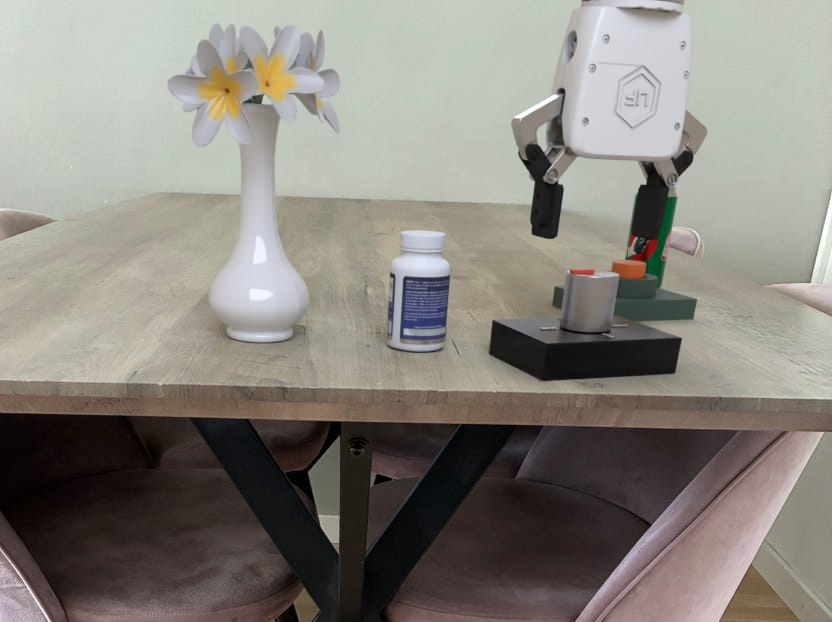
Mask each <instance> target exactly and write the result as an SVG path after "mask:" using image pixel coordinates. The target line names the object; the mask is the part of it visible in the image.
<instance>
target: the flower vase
mask: <svg viewBox="0 0 832 622" xmlns="http://www.w3.org/2000/svg"><path fill="white" fill-rule="evenodd" d="M273 33H274V41H273V43H272V45H271V47H270V50H269V49H268V45H267V43H266V41H265V40H264V38H263V36H261V35H260V33H259V32H258V31H257V30H255V29H254V28H252V27H251V26H249V25H247V24H246V25H245V24H243V25H241V26H240V27H239V29H238V36H237V28H236V24H234V23H229V24H228V25H227V27H226V28H225V30H223V28H222V26H221V24H219V23H218V22H215V23H213V24H212V25H211V27H210V29H209V33H208V39H207V38H203V39H202V38H201V40H200V41H199V42H198V44H197V46H196V53H194V55H193V56H192V58H191V59H190V66H189V67H188V68H186V71H185V72H184V73H179V74H174V75H173V76H171V77H169V78H168V80H167V89H168V91H169V93H170V94H171V95H172V96H174V97H175V98H176V99H177V100H179V101H180V102H183V106H182V110H183V112H184V113H190V112H193V111H196V114H195V116H194V119H193V122H192V128H191V137H192V142H193V143H194V145H195V146H197V147H198V148H204V147H206V146H209V144H211V143H212V141H213V140H214V139H215V137H216V136H217V135H218V133H219V132H220V128H221V127H222V125H223V123H224V125H225V127H226V130H227V131H228V133H229V134H230V136H231V137H232V138H233V139H234V140H235V141H236V142H237V143H238V147H239V156H240V208H239V209H240V213H239V227H238V234H237V237H236V241H235V245H234V248H233V249H232V252H231V256H230V258H229V259H228V261H227V262H226V263H225V265H224V266H223V267H222V268H221V269H220V270H219V272H218V273H217V274H216V276H215V277H214V279H213V281H212V283H211V286H210V288H209V291H208V305H209V307H210V308H211V310H212V312H213V313H214V315H215V316H216V317H217V319H219V320H220V321H221V322H222V323H223V324H225V325H226V326H227V328H226V334H227V336H228V337H229V338H231V339H233V340H237V341H239V342H245V343H247V342H248V343H261V344H263V343H277V342H283V341H286V340H289V339H291V338H292V337H293V335H294V329H293V328H292V327H293V326H295V325H296V324H298V323H299V322H301V320H302V319H303V318H304V317H305V315H306V314H307V313H308V310H309V308H310V302H311V298H310V296H311V295H310V292H309V289H308V286H307V283H306V282H305V280H304V278H303V277H302V275H301V274H300V273H299V272H298V271H297V270H296V269H295V267H294V266H293V265H292V263H291V262H290V260H289V259H288V257H287V254H286V252H285V249H284V247H283V243H282V240H281V236H280V232H279V226H278V225H279V224H278V216H277V198H276V197H277V193H276V150H277V140H278V133H279V127H280V123H281V120H283V121H284V122H287V123H294V121H295V120H297V119H296V118H297V114H298V113H297V112H298V108H297V102H296V100H295V97H296V99H297V100H298V101H299V102H300V103H301V104H302V105H303V106H304V108H305V109H306V110H307V111H308V113H309V114H311V115H312V116H316V115H317V117H318V120H319V121H320V123H321V124H324V122H325V121H326V122H327V123H328V125H329V126H330V127H331V128H332V129H333V131H334V132H335V133H336V134H339V133H340V131H341V130H340V124H339V119H338V116H337V113H336V111H335V108H334V107H333V105H332V104H331V103H330V102H329V101H328V100H327V99H325V98H331V97H334V96H335V95H337V93H338V91H339V90H340V86H341V81H340V76H339V74H338V71H336V70H335V69H333V68H325V69H321V68H322V66H323V64H324V60H325V54H326V53H325V51H326V44H325V35H324V32H323V30H322V29H320V30H319V31H318V33H317V36H316V39H315V41H314V37H313V35H312V34H311V33H310V32H308V31H305V32H302V34H300V31H299V29H298V28H297V26H295V25H293V24H288V25H286V26H284V27H283V28H281V27H280V26H278V25H276V26H275V27H274V29H273ZM320 69H321V70H320ZM265 95H266V97H267V98H268V99H269V101H270V102H271V103H263V99H264V97H265ZM293 95H294V96H293Z"/></svg>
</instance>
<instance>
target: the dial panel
mask: <svg viewBox="0 0 832 622" xmlns="http://www.w3.org/2000/svg"><path fill="white" fill-rule="evenodd" d="M560 318H561V316H558V317H532V318H531V317H530V318H502V319H492V321H491V330H490V340H489V349H488V354H489V355H491V356H493V357H495V358H497V359H499V360H501V361H503V362H505V363H507V364H508V365H511V366H513V367H515V368H517V369H520V370H521V371H523V372H525V373H528V374H529V375H531V376H533V377H535V378H537V379H539V380H540V381H545V382H546V381H559V380H576V379H577V380H579V379H580V380H581V379H594V378H595V379H596V378H613V377H614V376H615V377H627V376H626V375H633V376H643V375H642V374H651V375H663V374H662V373H669V374H676V372H677V365H678V361H679V356H680V351H681V345H682V341H683V337H682V336H681V337H680V336H678V335H675V334H672V333H670V332H667V331H664V330H660V329H657V328H655V327H652V326H648V325H646V324H643V323H640V322H638V321H635V322H634V321H631V320H628V319H626V318H623V317H620V316H613V319H612V326H611V330H610V331H608V332H602V333H585V332H576V331H571V330H566V329H564V328H561V327H560ZM660 373H661V374H660ZM624 375H625V376H624Z"/></svg>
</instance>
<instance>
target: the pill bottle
mask: <svg viewBox="0 0 832 622" xmlns="http://www.w3.org/2000/svg"><path fill="white" fill-rule="evenodd" d="M445 247H446V233H445V232H443V231H435V230H421V229H420V230H418V229H417V230H416V229H415V230H412V229H411V230H402V231H400V233H399V248H398V249H399V250H401V254H400V256H398V257H396V258H394V259H393V260H392V262H391V263H390V269H389V281H388V282H389V285H388V301H387V302H388V306H387V307H388V308H387V326H386V343H387V345H388V346H389V347H390V348H393V349H396V350H400V351H405V352H413V353H414V352H415V353H428V352H434V351H439V350H441V349H443V348H444V347H445V344H446V336H447V323H448V322H447V321H448V310H449V309H448V308H449V295H450V285H451V284H450V283H451V265H450V263H449V261H448V260H446V259H445V258H443V257H442V253H443V252H444V251H445Z"/></svg>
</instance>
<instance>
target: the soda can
mask: <svg viewBox="0 0 832 622" xmlns="http://www.w3.org/2000/svg"><path fill="white" fill-rule="evenodd" d="M676 190H677V187H676V186H674V187H672V188H670V187H669V193H668V198H667V203H666V208H665V214H664V219H663V223H662V226H661V229H660V234H659V238H658V239H657V240H648V239H644V238H639V237H635V236H633V235H632V234H631V229H632V223H633V217H634V211H635V206H636V200H637V194H638V191H636V193H635V195H634V200H633V204H632V205H633V206H632V212H631V218H630V224H629V230H628V237H627V244H626V249H625V255H624V256H625V257H624V260H634V261H641V262H645V263H646V269H645V273H647V274H651V275H655V276H657V277H658V283H657V288H660V289H661V287H663V286H662V285H663V280H664V276H665V271H666V263H667V259H668V252H669V248H670V242H671V238H672V231H673V225H674V221H675V215H676V209H677V203H678V195H677V192H676Z"/></svg>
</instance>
